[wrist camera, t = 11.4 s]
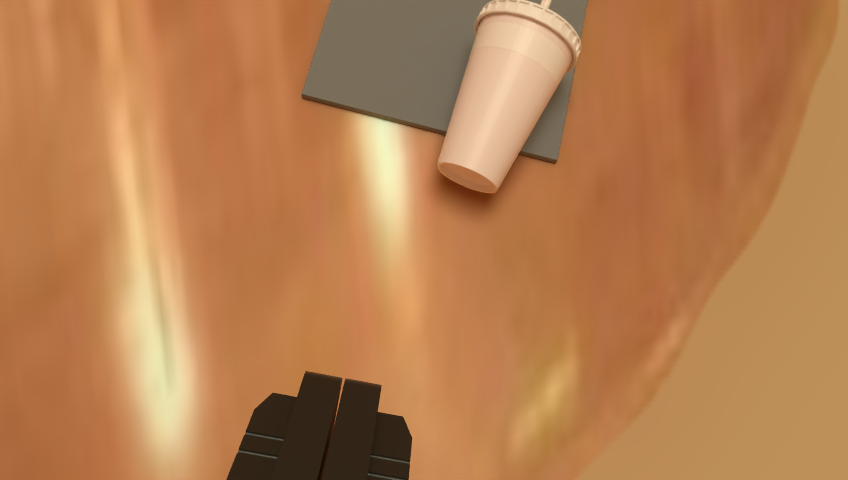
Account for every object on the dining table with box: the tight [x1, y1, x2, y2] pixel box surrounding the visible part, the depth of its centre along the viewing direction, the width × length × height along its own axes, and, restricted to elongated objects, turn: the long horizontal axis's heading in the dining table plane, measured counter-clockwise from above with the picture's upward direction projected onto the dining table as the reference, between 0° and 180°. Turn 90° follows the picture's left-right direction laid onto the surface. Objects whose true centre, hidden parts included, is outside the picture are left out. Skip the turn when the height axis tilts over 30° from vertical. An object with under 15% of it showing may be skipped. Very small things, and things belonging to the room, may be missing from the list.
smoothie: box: [437, 0, 581, 193], centre depth 39 cm, size 6×6×14 cm
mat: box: [302, 0, 588, 163], centre depth 43 cm, size 16×16×1 cm
